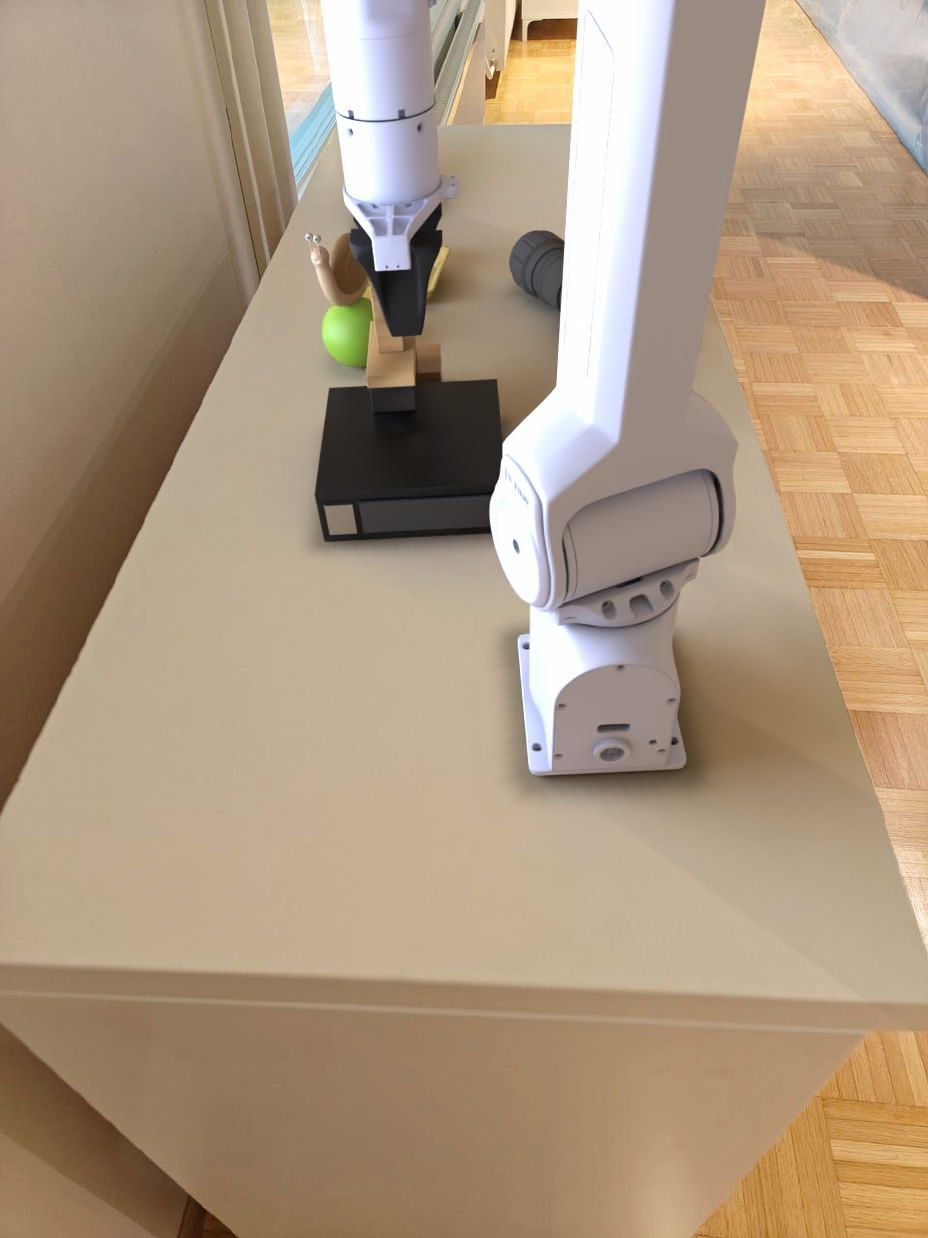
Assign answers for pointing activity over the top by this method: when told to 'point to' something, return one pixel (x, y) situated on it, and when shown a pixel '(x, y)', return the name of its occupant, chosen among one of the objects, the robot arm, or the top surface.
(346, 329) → the snail figurine
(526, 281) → the flashlight
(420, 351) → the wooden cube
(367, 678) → the top surface
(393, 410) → the brush
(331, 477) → the box
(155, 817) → the top surface
